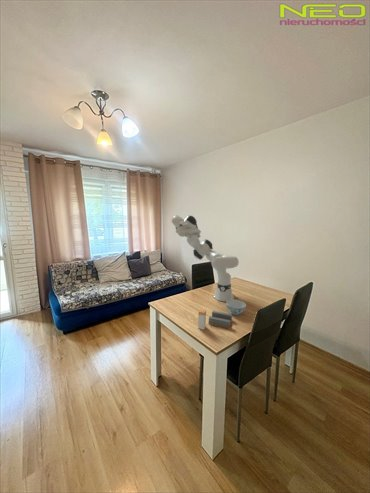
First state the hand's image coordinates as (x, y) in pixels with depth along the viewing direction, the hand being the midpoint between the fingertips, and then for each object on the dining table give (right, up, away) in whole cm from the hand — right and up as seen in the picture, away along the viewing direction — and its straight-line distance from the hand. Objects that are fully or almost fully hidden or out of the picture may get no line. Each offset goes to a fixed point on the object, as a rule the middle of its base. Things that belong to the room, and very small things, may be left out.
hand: (195, 237), depth 154 cm
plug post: (+3, -61, -20) cm, 64 cm away
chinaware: (+31, -59, +1) cm, 67 cm away
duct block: (+17, -60, -12) cm, 64 cm away
